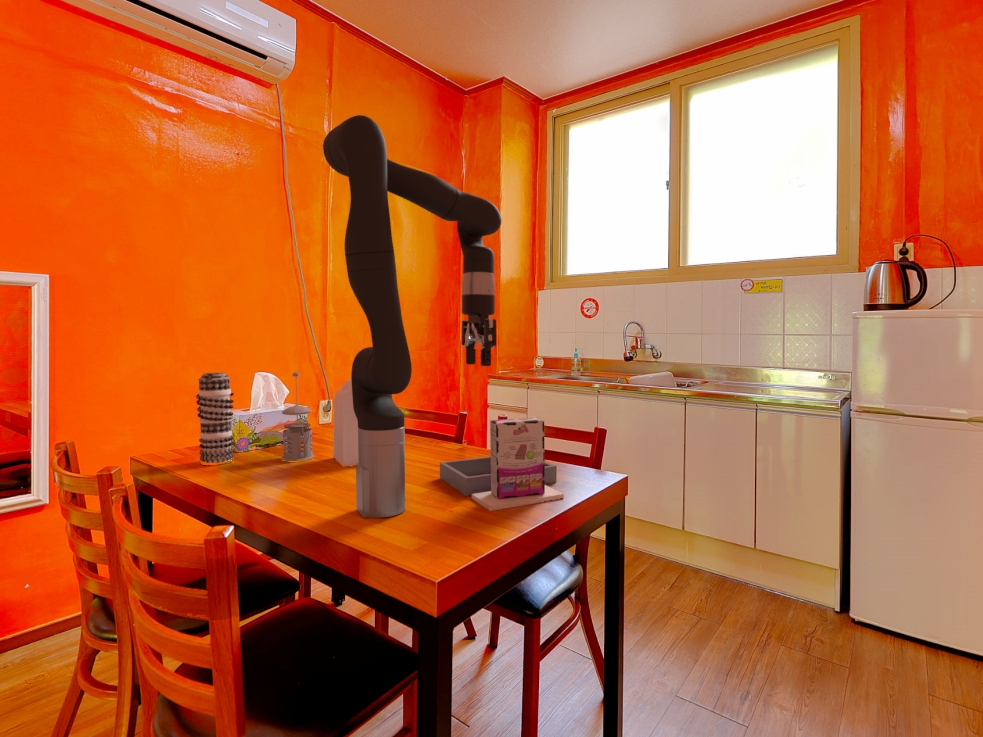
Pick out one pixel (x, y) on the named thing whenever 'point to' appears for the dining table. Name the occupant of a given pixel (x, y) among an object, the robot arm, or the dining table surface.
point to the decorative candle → (215, 418)
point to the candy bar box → (517, 457)
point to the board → (514, 499)
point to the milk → (345, 427)
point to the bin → (461, 469)
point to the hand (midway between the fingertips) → (477, 365)
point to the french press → (297, 434)
